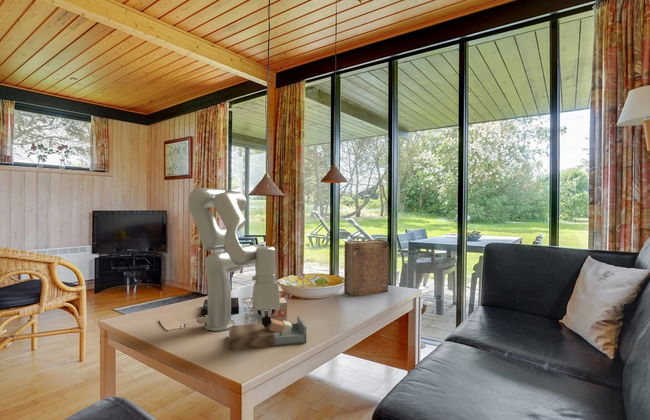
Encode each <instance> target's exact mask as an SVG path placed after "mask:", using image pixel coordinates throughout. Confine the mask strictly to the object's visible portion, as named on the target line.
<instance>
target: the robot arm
mask: <svg viewBox="0 0 650 420" xmlns="http://www.w3.org/2000/svg"><path fill="white" fill-rule="evenodd" d="M187 205H188V209H189V213H190V214H191V216H192V218H193V220H194V223H195V226H196V229H197V232H198V235H199V238H200V241H201V244H202V247H203V249H204V250H206V251H209V252H211V251H217V252H213V253H210V254H208V256H207V257H206V258H205V260H204V268H205V272H206V280H207V282H206V283H207V285H206V286H207V299H208V315H207V316H204V317H197V318H196V323H197V324H199V325H200V324H203V328H204V330H207V331H209V330H211V332H220V331H221V332H222V331H227V330H229V326H236V324H235V321H234V320H233V319H232V314H231V298H232V284H231V280H230V279H229V277H228V275H227V274H229V273H235V272H237V271H240V270H242V269H243V267H244V266H248V265H255V275H254V276H252V277H251V281H254V283H253V289H252V299H251V300H252V308H251V312H252V313H256V314H259V315H260V316H261V323H262V325H264V328H266V326H267V327H269V324H270V319H271V318H270V317H271V315H272V314H273V313H274V312H275V311H278V310H280V295H279V286H280V285H279V283H278V281H277V276H276V275H277V274H276V273H277V271H276V269H277V268H276V267H277V264H276V263H277V262H276V261H277V259H276V257H277V256H276V255H277V254H276V253H277V251H276V248H275V247H274V246H268V245H266V246H265V245H262V244H247V245H241V244H240V241H239V237H238V234H237V232H238V231H240V230H241V229H243V227H244V226H246V222H247V220H246V218H245V217H244V214H243V213H242V212H243V211H245V210H246V208H247V205H248V201H247V199H246V196H245V195H244V194H243V193H241V192H238V191H234V190H230V189H226V188H215V187H200V188H199V187H198V188H195V189H192V191H191V192H190V193H189V195H188V200H187ZM208 208H215V209H216V211H217V213H218V216H219V217H220V219H221V221H222V223H223V225H224V227H220V226H219V225H218V222H217V219H216V217H215V216H214V214H213V212H211V210H209V209H208ZM222 250H223V251H222ZM278 285H279V286H278ZM267 310H268V312H267ZM265 311H266V312H267V313H265Z"/></svg>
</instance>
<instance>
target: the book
mask: <svg viewBox="0 0 650 420" xmlns="http://www.w3.org/2000/svg"><path fill="white" fill-rule="evenodd" d="M389 248H390V247H389V241H387V240H381V239H372V240H359V241H358V240H355V241H344V269H343V270H344V275H343V276H344V278H343V281H344V282H343V283H344V284H343V285H344V288H343V289H344V291H343V292H344V294H349V295H351V296H353V297H358V296H364V295H365V296H366V295H372V294H379V293H385V292H389Z"/></svg>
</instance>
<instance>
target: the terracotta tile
mask: <svg viewBox="0 0 650 420" xmlns="http://www.w3.org/2000/svg"><path fill="white" fill-rule="evenodd" d="M283 329H284V324H283V322H282V321H278V320H275V319H271V318H270V324H269V330H271V331H275V332H278V333H282V332H283Z"/></svg>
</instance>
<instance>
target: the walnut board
mask: <svg viewBox="0 0 650 420" xmlns="http://www.w3.org/2000/svg"><path fill="white" fill-rule="evenodd" d="M228 331H229V333H228V336H229V338H228V339H229V340H228V343H229V347H228V348H229V350H228V351H236V350H237V351H239V350H246V349H247V350H248V349H256V348H267V347H275V344H274V332H273V331H271V330H269V327H267V326H266V328H264V325H262V322H261V323H251V324H240V325H234V326H229V329H228Z"/></svg>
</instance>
